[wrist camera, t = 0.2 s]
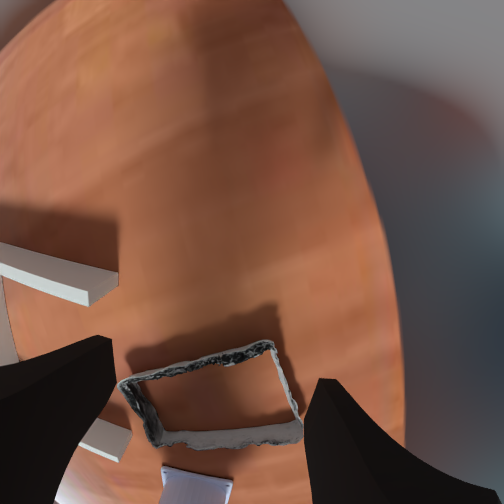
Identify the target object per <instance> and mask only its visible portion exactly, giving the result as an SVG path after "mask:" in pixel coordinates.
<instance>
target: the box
mask: <svg viewBox="0 0 504 504" xmlns="http://www.w3.org/2000/svg"><path fill="white" fill-rule="evenodd" d="M2 276H5V277H7V278H10V279H12V280H15V281H17V282H20V283H22V284H25V285H27V286H30V287H32V288H35V289H38V290H40V291H43V292H46V293H49V294H52V295H54V296H57V297H60V298H63V299H66V300H69V301H72V302H75V303H78V304H81V305H84V306H88V307H89V306H91V305H92V304H93V303H95V302H96V301H98V300H99V299H100V298H102V297H103V296H105V295H106V294H107V293H109V292H110V291H112V290H113V289H114V288H116V287H117V286H118V272H113V271H109V270H105V269H100V268H96V267H92V266H88V265H84V264H80V263H76V262H72V261H68V260H64V259H60V258H56V257H52V256H49V255H45V254H41V253H37V252H34V251H30V250H27V249H23V248H20V247H16V246H13V245H9V244H6V243H2V242H0V366H4V365H9V364H14V363H18V362H19V359H18V356H17V352H16V348H15V344H14V341H13V337H12V332H11V328H10V323H9V319H8V314H7V308H6V303H5V296H4V290H3V283H2ZM131 438H132V431H131V430H128V429H126V428H123V427H120V426H117V425H115V424H112V423H109V422H107V421H104V420H102V419H99V418H96V420H95V421H94V423H93V424H92V425H91V427H90V428H89V430H88V431H87V433H86V434H85V436H84V437H83V439H82V440H81V441H80V443H79V446H81V447H83V448H85V449H88V450H90V451H92V452H94V453H97V454H99V455H101V456H104V457H106V458H108V459H111V460H113V461H116V462H118V463H119V462H120V460H121V458H122V456H123V454H124V452H125V450H126V448H127V446H128V444H129V442H130V440H131Z"/></svg>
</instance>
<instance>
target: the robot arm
mask: <svg viewBox="0 0 504 504" xmlns="http://www.w3.org/2000/svg"><path fill="white" fill-rule="evenodd" d="M116 383H117V381H116V373H115V365H114V357H113V347H112V339H110V338H107V337H103V336H100V335H95V336H92V337H89V338H86V339H83V340H81V341H78V342H76V343H73V344H71V345H68V346H66V347H63V348H60V349H58V350H55V351H52V352H50V353H47V354H44V355H41V356H38V357H35V358H32V359H29V360H25V361H22V362H18V363H14V364H9V365H4V366H0V504H53V503H54V499H55V496H56V493H57V490H58V487H59V485H60V482H61V480H62V477H63V475H64V472H65V470H66V468H67V466H68V464H69V461H70V459H71V457H72V455H73V453H74V451H75V450H76V448H77V446H78V445H79V443H80V441H81V440H82V439H83V437H84V436H85V434H86V433H87V431H88V430H89V428H90V427H91V425H92V424H93V423H94V421H95V420H96V418H97V417H98V415H99V414H100V412H101V411H102V410H103V408H104V407H105V405H106V404H107V402H108V400H109V398H110V396H111V394H112V392H113V390H114V387H115V385H116ZM304 445H305V452H306V459H307V465H308V472H309V478H310V485H311V492H312V502H313V504H502V503H501V501H500V499H499V497H498V495H497V493H496V492H495V490H492V489H488V488H484V487H480V486H476V485H473V484H470V483H467V482H464V481H462V480H459V479H457V478H454V477H452V476H449V475H447V474H445V473H443V472H441V471H439V470H437V469H435V468H434V467H432V466H430V465H429V464H427V463H425V462H423V461H422V460H420V459H419V458H417V457H416V456H414V455H413V454H412V453H410V452H409V451H408V450H406V449H405V448H404V447H402V446H401V445H400V444H398V443H397V442H396V441H395V440H393V439H392V438H391V437H390V436H389V435H388V434H387V433H386V432H385V431H384V430H383V429H381V428H380V427H379V426H378V425H377V424H376V423H375V422H374V421H373V420H372V419H371V418H370V417H369V416H368V414H367V413H366V412H365V411H364V410H363V409H362V408H361V407H360V406H359V405H358V403H357V402H356V401H355V400H354V399H353V398H352V397H351V395H350V394H349V393H348V392H347V391H346V390H345V388H344V387H343V386H342V385H341V384H340V383H339V382H338V381H337V380H336V379H324V378H319V380H318V383H317V386H316V388H315V391H314V394H313V397H312V399H311V402H310V405H309V407H308V410H307V413H306V415H305V418H304ZM161 474H162V480H163V487H164V489H163V492H162V495H161V498H160V501H159V504H228V500H229V497H230V493H231V489H232V486H233V481H232V480H228V479H222V478H216V477H210V476H205V475H200V474H195V473H191V472H186V471H182V470H178V469H174V468H170V467H167V466H162V467H161Z"/></svg>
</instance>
